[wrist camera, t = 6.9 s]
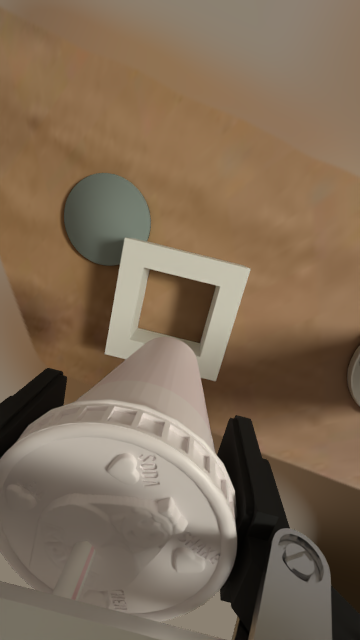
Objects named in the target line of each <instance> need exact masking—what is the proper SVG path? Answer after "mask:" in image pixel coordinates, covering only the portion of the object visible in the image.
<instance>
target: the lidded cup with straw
mask: <svg viewBox="0 0 360 640" xmlns="http://www.w3.org/2000/svg"><path fill="white" fill-rule="evenodd" d="M236 518H237V510H236V498H235V490H234V487H233V485H232V482H231V480H230V478H229V475H228V473H227V471H226V468H225V466H224V464H223V462H222V461H221V460H220V459H219V457H218V456H217V455H216V454H215V449H214V443H213V439H212V434H211V429H210V424H209V419H208V414H207V408H206V403H205V398H204V393H203V388H202V382H201V377H200V372H199V367H198V362H197V358H196V356H195V354H194V352H193V351H192V349H191V348H190V347H189V346H188V345H187V344H185V343H184V342H182V341H180V340H178V339H176V338H172V337H158V338H154V339H152V340H150V341H148V342H147V343H145V344H144V345H143V346H142V347H140V348H139V349H138V350H137V351H136V352H134V353H133V354H132V355H131V356H130V357H128V358H127V359H126V360H125V361H124V362H122V363H121V364H120V365H119V366H118V367H116V368H115V369H114V370H113V371H112V372H110V373H109V374H108V375H107V376H106V377H104V378H103V379H102V380H101V381H100V382H98V383H97V384H96V385H95V386H94V387H92V388H91V389H90V390H89V391H88V392H86V393H85V394H84V395H82V396H81V397H80V398H79V399H78V400H76V402H73V403H70V404H67V405H64V406H61V407H58V408H55V409H52V410H50V411H48V412H47V413H46V414H44V415H43V416H41V417H40V418H38V419H37V420H35V421H34V422H33V423H31V424H30V425H28V427H27V428H26V429H25V431H24V432H23V433H22V435H21V436H20V438H19V439H18V440H17V442H16V443H15V444H14V445H13V446H12V447H11V448H10V449H9V450H8V451H7V452H6V453H5V454H4V455H3V456H2V457H1V459H0V552H1V554H2V555H3V556H4V558H5V559H6V561H7V562H8V563H9V565H10V566H11V567H12V569H13V570H14V571H15V572H16V573H17V574H18V575H19V576H20V577H21V578H22V579H24V581H25V582H26V583H27V584H29V585H30V586H31V587H33V588H34V589H35V590H37V591H41V592H45V593H49V594H53V595H57V596H61V597H65V598H68V599H72V600H76V601H80V602H84V603H88V604H92V605H96V606H100V607H103V608H107V609H111V610H115V611H119V612H123V613H127V614H131V615H134V616H138V617H142V618H146V619H150V620H153V621H157V622H161V621H167V620H170V619H173V618H176V617H179V616H182V615H185V614H188V613H189V612H191V611H193V610H195V609H197V608H198V607H200V606H202V605H204V604H205V603H206V602H207V601H208V600H209V599H210V598H212V597H213V596H214V595H215V594H216V593H217V592H218V591H219V590H220V589H221V587H222V586H223V585H224V583H225V582H226V580H227V579H228V577H229V575H230V573H231V570H232V568H233V566H234V562H235V558H236V551H237V533H236V524H235V521H236Z"/></svg>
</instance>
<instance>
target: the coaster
mask: <svg viewBox="0 0 360 640" xmlns="http://www.w3.org/2000/svg"><path fill="white" fill-rule="evenodd" d="M64 223H65V228H66V231H67V235H68V237H69V239H70V241H71V243H72V244H73V246H74V247H75V248H76V250H77V251H78V252H79V253H80V254H82V255H83V256H84V257H85V258H87V259H88V260H90V261H92V262H94V263H97V264H101V265H110V266H111V265H119V264H120V262H121V257H122V251H123V245H124V239H125V238H134V239H138V240H143V241H147V240H148V238H149V234H150V228H151V218H150V212H149V208H148V205H147V203H146V201H145V199H144V197H143V195H142V194H141V192H140V191H139V190H138V189H137V188H136V187H135V186H134V185H133V184H132V183H130V182H129V181H128V180H126V179H124V178H122V177H120V176H118V175H115V174H109V173H99V174H94V175H90V176H88V177H86V178H84V179H83V180H81V181H80V182H79V183H78V184H77V185H76V186H75V187H74V188H73V189H72V191H71V192H70V194H69V196H68V198H67V201H66V204H65V210H64Z"/></svg>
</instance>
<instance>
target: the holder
mask: <svg viewBox="0 0 360 640" xmlns="http://www.w3.org/2000/svg"><path fill="white" fill-rule="evenodd" d="M150 269H152V270H156V271H160V272H164V273H168V274H172V275H176V276H180V277H184V278H188V279H192V280H196V281H200V282H204V283H208V284H212V285H216V288H215V291H214V295H213V299H212V302H211V306H210V309H209V313H208V317H207V320H206V324H205V327H204V331H203V334H202V338H201V342H200V343H197V342H193V341H189V340H185V339H181V338H177V337H173V336H169V335H164V334H160V333H156V332H152V331H148V330H144V329H140V328H138V323H139V319H140V314H141V309H142V304H143V299H144V294H145V289H146V284H147V279H148V275H149V270H150ZM249 272H250V268H248V267H246V266H244V265H240V264H236V263H232V262H228V261H224V260H220V259H216V258H212V257H208V256H204V255H200V254H196V253H192V252H188V251H184V250H180V249H176V248H172V247H168V246H164V245H160V244H155V243H151V242H147V241H143V240H138V239H134V238H125V239H124V245H123V251H122V257H121V262H120V268H119V274H118V280H117V285H116V291H115V297H114V303H113V309H112V314H111V320H110V326H109V332H108V337H107V343H106V349H105V354H107V355H111V356H115V357H119V358H123V359H127V358H128V357H130V356H131V355H132V354H133V353H134V352H136V351H137V350H138V349H139V348H140V347H142V346H143V345H144V344H145V343H147V342H148V341H150V340H152V339H154V338H158V337H172V338H176V339H178V340H180V341H182V342H184V343H185V344H187V345H188V346H189V347H190V348H191V349H192V351H193V352H194V354H195V356H196V358H197V362H198V367H199V372H200V377H201V378H204V379H208V380H212V381H216V379H217V376H218V373H219V369H220V366H221V363H222V360H223V356H224V353H225V350H226V347H227V343H228V340H229V337H230V334H231V330H232V327H233V324H234V321H235V318H236V314H237V311H238V308H239V305H240V301H241V298H242V295H243V292H244V288H245V285H246V282H247V279H248V275H249Z"/></svg>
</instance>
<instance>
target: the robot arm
mask: <svg viewBox="0 0 360 640" xmlns="http://www.w3.org/2000/svg"><path fill="white" fill-rule="evenodd" d="M66 382H67V377H66V376H63V372H62V371H59V370H55V369H51V368H47V369H45V370H44V371H43V372H42V373H40V374H39V375H38V376H37V377H35V378H34V379H33V380H32V381H30V382H29V383H28V384H27V385H26V386H24V387H23V388H22V389H21V390H19V391H18V392H17V393H16V394H14V395H13V396H10V397H8V398H7V399H5V400H4V401H3V402H2V403H0V459H1V457H2V456H3V455H4V454H5V453H6V452H7V451H8V450H9V449H10V448H11V447H12V446H13V445H14V444H15V443H16V442H17V440H18V439H19V438H20V436H21V435H22V433H23V432H24V431H25V429H26V428H27V427H28V425H30V424H31V423H33V422H34V421H35V420H37V419H38V418H40V417H41V416H43V415H44V414H46V413H47V412H48V411H50V410H52V409H55V408H58V407H61V406H63V404H64V397H65V390H66ZM347 382H348V388H349V391H350V393H351V396H352V398H353V399H354V400H355V402H356V403H357V404H358V405H359V406H360V346H359V347H358V348H357V350H356V351H355V353H354V355H353V357H352V358H351V360H350V364H349V367H348V373H347ZM217 456H218V457H219V459H220V460H221V461H222V462H223V464H224V466H225V468H226V471H227V473H228V475H229V478H230V480H231V482H232V485H233V487H234V490H235V498H236V510H237V518H236V521H235V524H236V533H237V551H236V558H235V562H234V566H233V568H232V570H231V573H230V575H229V577H228V579H227V580H226V582H225V583H224V585H223V586H222V587H221V589H220V596H221V600H222V601H226V602H230V603H231V607H232V609H233V610H234V612H235V613H236V614H237V621H236V624H235V628H234V632H233V636H232V640H360V614H359V613H358V612H357V611H356V610H355V609H354V608H353V607H352V606H351V605H350V604H349V603H348V602H347V601H346V600H345V599H344V598H343V597H342V596H341V595H340V594H339V593H338V592H337V591H336V590H335V589H334V588H333V587H332V586H331V578H330V577H331V576H330V570H329V566H328V564H327V562H326V559H325V557H324V555H323V554H322V553H321V551H320V550H319V548H318V547H317V546H316V545H315V544H314V543H313V542H312V541H311V540H310V539H309V538H308V537H306V536H305V535H304V534H302V533H300V532H298V531H296V530H293V529H290V527H289V524H288V521H287V518H286V515H285V511H284V508H283V505H282V502H281V499H280V495H279V492H278V489H277V486H276V483H275V479H274V476H273V473H272V470H271V467H270V464H269V462H268V460H266V459H263V458H262V456H261V452H260V449H259V445H258V442H257V438H256V435H255V431H254V428H253V424H252V421H251V419H249V418H245V417H241V416H237V415H236V416H235V418H234V419H233V418H230V419H229V421H228V424H227V427H226V430H225V433H224V436H223V439H222V442H221V445H220V448H219V451H218V454H217ZM0 640H225V639H221V638H218V637H214V636H210V635H206V634H202V633H199V632H195V631H191V630H187V629H183V628H180V627H176V626H172V625H168V624H164V623H161V622H157V621H153V620H150V619H146V618H142V617H138V616H134V615H131V614H127V613H123V612H119V611H115V610H111V609H107V608H103V607H100V606H96V605H92V604H88V603H84V602H80V601H76V600H72V599H68V598H65V597H61V596H57V595H53V594H49V593H45V592H41V591H37V590H33V589H29V588H25V587H21V586H17V585H14V584H9V583H6V582H2V581H0Z"/></svg>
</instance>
